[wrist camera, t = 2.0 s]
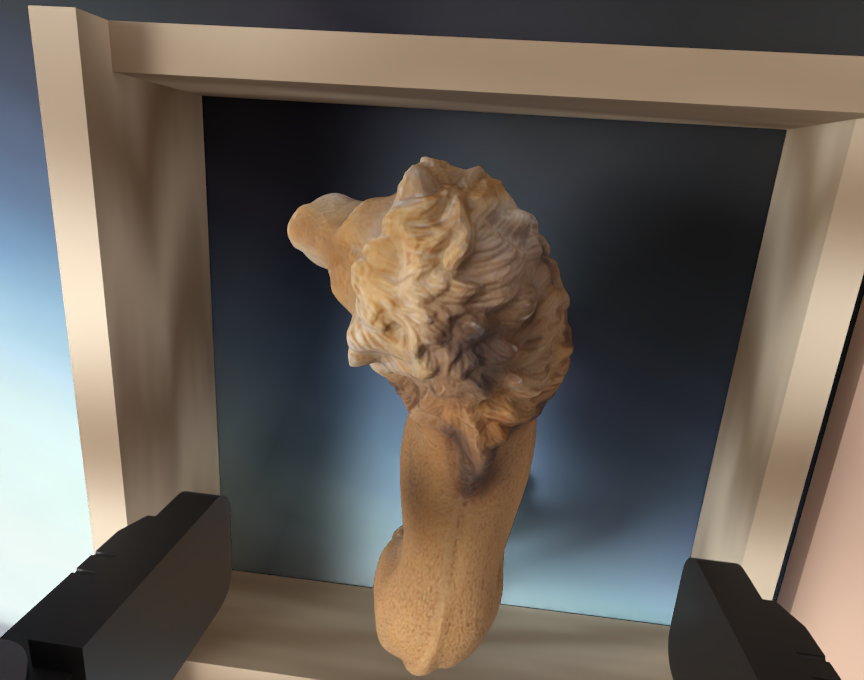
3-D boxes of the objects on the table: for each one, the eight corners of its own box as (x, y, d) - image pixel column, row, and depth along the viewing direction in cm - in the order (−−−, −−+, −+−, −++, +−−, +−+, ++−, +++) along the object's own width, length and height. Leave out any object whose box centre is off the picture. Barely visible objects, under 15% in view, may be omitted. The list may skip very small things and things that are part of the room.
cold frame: (166, 55, 16) (28, 5, 11) (836, 90, 15) (1002, 49, 10) (198, 588, 21) (113, 708, 16) (699, 654, 20) (764, 807, 15)
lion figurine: (361, 167, 16) (217, 160, 8) (549, 157, 16) (614, 137, 7) (395, 596, 20) (324, 901, 12) (546, 601, 20) (586, 925, 11)
